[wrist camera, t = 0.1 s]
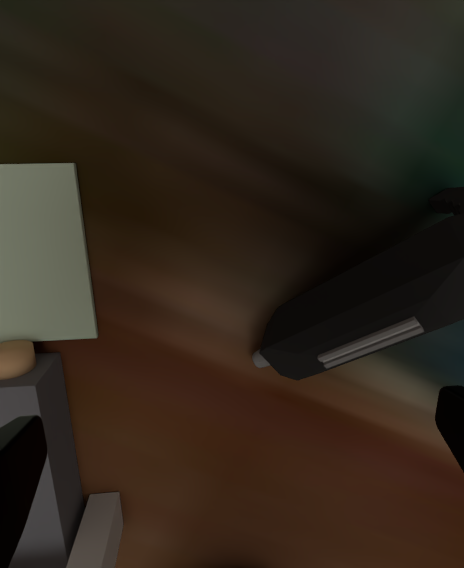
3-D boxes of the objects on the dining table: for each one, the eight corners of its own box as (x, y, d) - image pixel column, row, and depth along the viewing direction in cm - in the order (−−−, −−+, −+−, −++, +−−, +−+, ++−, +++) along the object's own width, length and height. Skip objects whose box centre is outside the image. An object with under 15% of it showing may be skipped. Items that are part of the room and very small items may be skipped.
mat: (98, 335, 23) (96, 337, 23) (-58, 343, 22) (-63, 346, 22) (75, 163, 20) (73, 163, 20) (-105, 166, 19) (-111, 166, 19)
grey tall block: (88, 524, 27) (71, 581, 24) (31, 529, 27) (4, 588, 23) (58, 332, 23) (31, 364, 19) (-10, 335, 23) (-52, 369, 19)
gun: (266, 278, 29) (232, 376, 21) (496, 142, 20) (587, 222, 12) (289, 304, 30) (264, 407, 22) (520, 183, 21) (619, 284, 13)
